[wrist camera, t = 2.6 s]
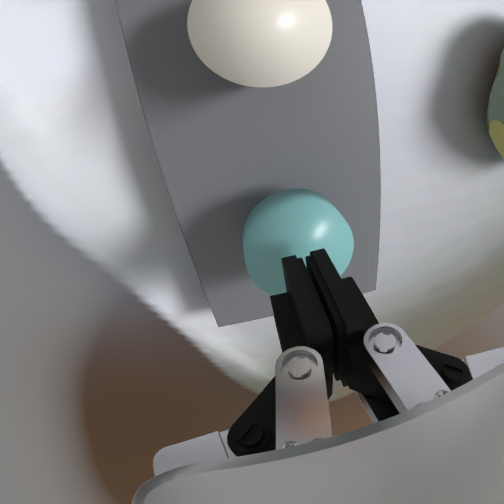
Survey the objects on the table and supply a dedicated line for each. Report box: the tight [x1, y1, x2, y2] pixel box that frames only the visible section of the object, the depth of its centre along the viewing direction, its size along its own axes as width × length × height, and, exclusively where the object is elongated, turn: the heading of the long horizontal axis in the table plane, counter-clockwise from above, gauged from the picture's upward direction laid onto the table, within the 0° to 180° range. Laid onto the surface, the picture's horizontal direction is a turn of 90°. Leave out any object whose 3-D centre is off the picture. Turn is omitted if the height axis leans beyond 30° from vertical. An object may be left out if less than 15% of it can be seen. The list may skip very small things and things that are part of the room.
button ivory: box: [187, 0, 332, 87], centre depth 8 cm, size 5×5×2 cm
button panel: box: [116, 0, 381, 327], centre depth 11 cm, size 30×10×2 cm, turn 11°
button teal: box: [242, 188, 354, 295], centre depth 13 cm, size 5×5×2 cm
